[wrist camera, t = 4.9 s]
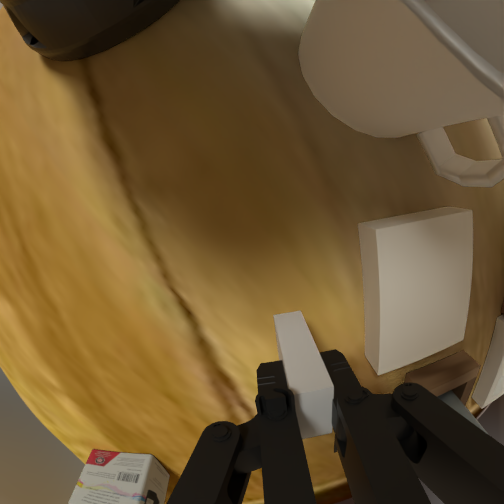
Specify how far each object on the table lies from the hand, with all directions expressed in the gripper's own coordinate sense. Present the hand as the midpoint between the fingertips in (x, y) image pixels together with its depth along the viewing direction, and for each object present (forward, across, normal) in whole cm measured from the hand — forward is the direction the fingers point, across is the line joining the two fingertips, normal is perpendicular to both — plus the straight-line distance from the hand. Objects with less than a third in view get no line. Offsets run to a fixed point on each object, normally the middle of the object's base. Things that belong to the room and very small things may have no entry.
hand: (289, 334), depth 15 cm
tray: (+3, +28, -12) cm, 30 cm away
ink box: (+3, -18, -18) cm, 26 cm away
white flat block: (+3, +10, 0) cm, 10 cm away
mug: (+3, +9, +14) cm, 17 cm away
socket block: (+3, +14, -12) cm, 18 cm away
